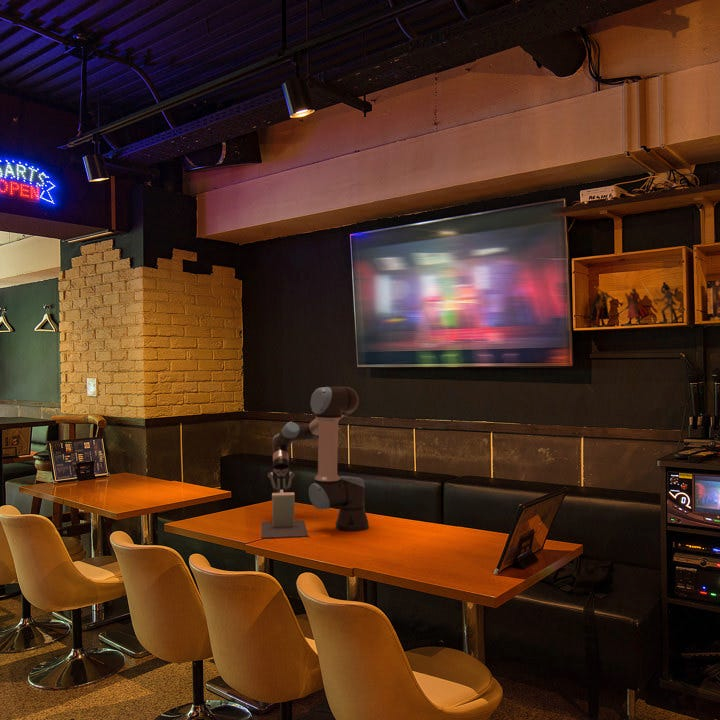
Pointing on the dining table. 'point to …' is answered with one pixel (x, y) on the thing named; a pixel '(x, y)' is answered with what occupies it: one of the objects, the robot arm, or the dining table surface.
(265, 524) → the mat
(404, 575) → the dining table surface
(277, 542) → the dining table surface
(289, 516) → the tile
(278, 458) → the robot arm
